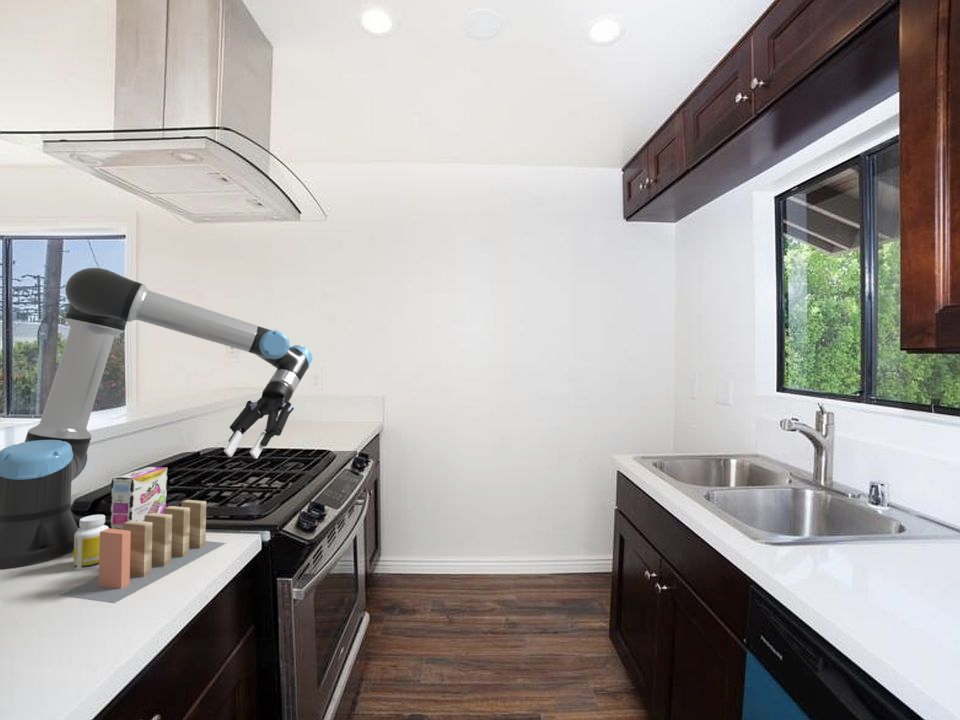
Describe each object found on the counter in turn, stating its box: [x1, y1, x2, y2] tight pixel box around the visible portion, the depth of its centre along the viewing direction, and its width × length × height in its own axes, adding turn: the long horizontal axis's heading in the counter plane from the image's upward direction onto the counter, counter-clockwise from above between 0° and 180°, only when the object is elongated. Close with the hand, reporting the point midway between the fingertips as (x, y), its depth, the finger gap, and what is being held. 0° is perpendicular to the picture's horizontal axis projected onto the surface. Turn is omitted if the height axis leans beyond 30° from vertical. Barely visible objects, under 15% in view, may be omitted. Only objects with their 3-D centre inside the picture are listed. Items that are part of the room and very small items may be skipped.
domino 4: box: [164, 505, 190, 557], centre depth 96 cm, size 2×5×10 cm, turn 80°
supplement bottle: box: [73, 514, 110, 571], centre depth 91 cm, size 5×5×10 cm
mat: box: [58, 540, 227, 604], centre depth 91 cm, size 26×12×1 cm, turn 170°
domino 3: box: [144, 513, 172, 566], centre depth 92 cm, size 2×5×10 cm, turn 80°
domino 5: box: [180, 499, 207, 548], centre depth 100 cm, size 2×5×10 cm, turn 80°
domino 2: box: [123, 520, 152, 577], centre depth 87 cm, size 2×5×10 cm, turn 80°
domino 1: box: [98, 528, 131, 588], centre depth 83 cm, size 2×5×10 cm, turn 80°
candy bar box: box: [109, 466, 169, 530], centre depth 102 cm, size 11×5×16 cm, turn 0°
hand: (240, 454), depth 115 cm, fingers open, 7 cm apart
